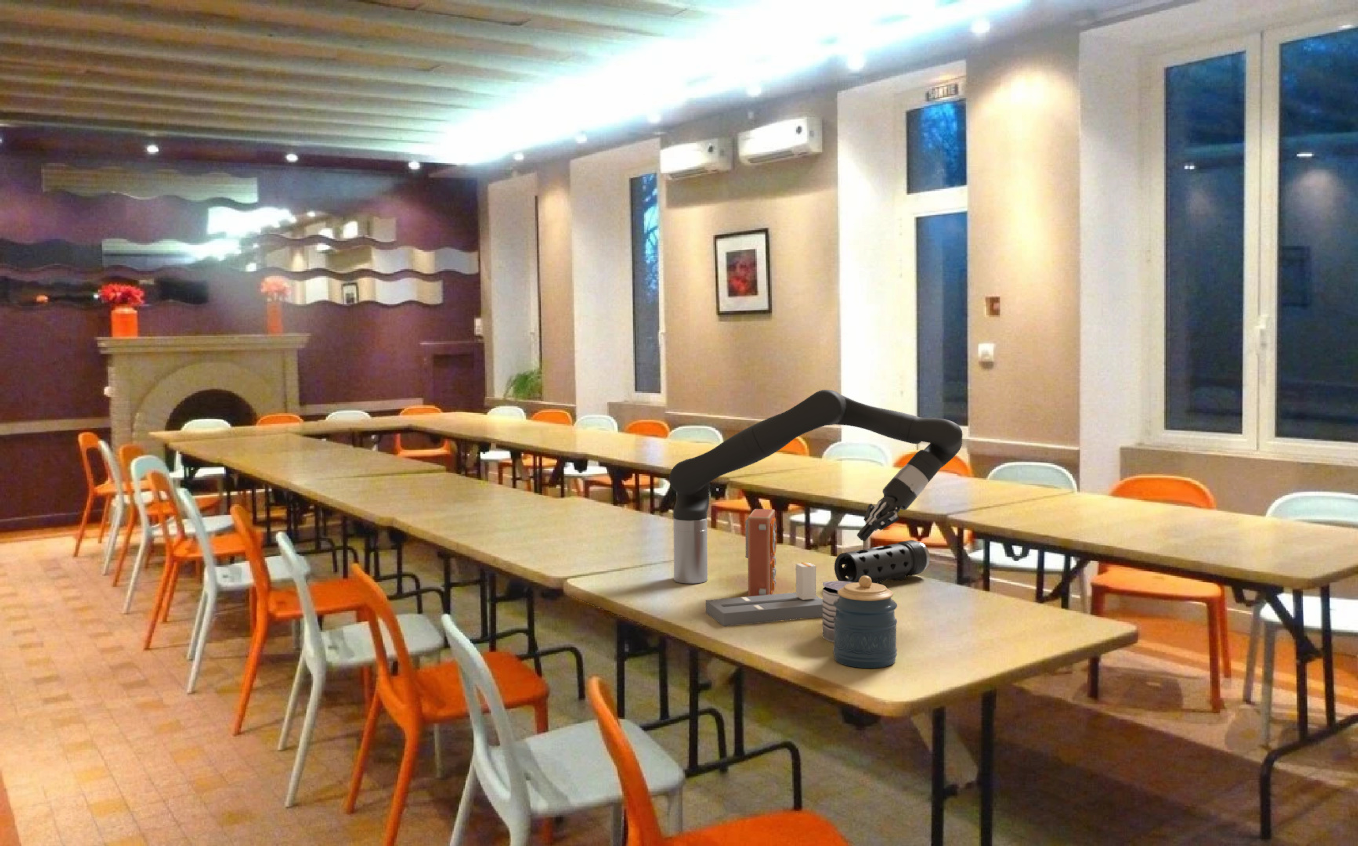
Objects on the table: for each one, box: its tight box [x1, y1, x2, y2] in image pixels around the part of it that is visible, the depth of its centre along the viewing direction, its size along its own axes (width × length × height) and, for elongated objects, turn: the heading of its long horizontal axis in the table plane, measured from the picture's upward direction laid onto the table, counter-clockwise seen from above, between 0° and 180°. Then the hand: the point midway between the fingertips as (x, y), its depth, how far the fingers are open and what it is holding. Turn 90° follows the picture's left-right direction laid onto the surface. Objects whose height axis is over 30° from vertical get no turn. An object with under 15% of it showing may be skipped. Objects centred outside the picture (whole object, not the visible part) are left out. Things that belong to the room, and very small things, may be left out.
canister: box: [832, 576, 898, 669], centre depth 224 cm, size 13×13×18 cm
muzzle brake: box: [833, 539, 931, 585], centre depth 292 cm, size 10×28×10 cm, turn 126°
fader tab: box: [795, 562, 817, 600], centre depth 263 cm, size 4×4×8 cm
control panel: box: [744, 508, 778, 597], centre depth 279 cm, size 21×7×15 cm
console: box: [705, 591, 823, 627], centre depth 261 cm, size 13×27×3 cm, turn 107°
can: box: [822, 580, 855, 643], centre depth 241 cm, size 11×11×12 cm
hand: (860, 538), depth 267 cm, fingers closed
